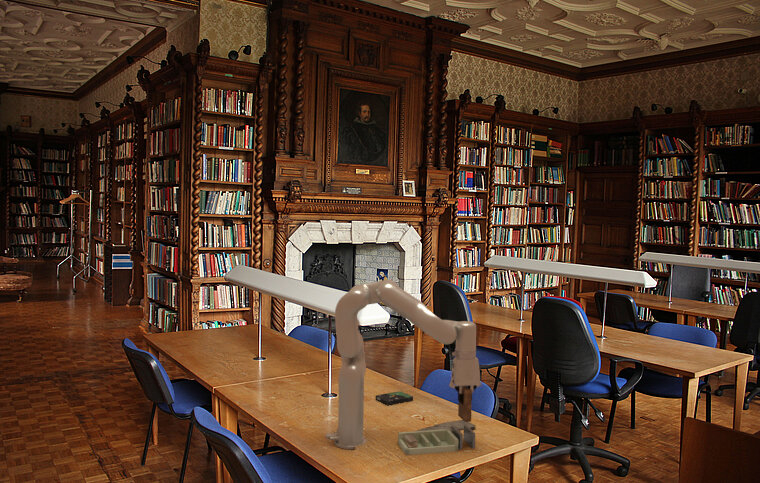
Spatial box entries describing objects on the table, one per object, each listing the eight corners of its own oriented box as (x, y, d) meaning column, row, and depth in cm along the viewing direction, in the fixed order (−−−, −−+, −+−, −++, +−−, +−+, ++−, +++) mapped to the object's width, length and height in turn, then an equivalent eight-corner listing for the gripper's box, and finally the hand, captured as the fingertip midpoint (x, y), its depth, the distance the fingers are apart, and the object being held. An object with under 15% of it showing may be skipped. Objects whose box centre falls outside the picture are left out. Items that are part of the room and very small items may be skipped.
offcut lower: (409, 452, 218) (409, 446, 218) (403, 445, 225) (404, 439, 225) (417, 451, 219) (417, 446, 219) (412, 444, 226) (412, 438, 226)
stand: (459, 452, 222) (460, 434, 222) (451, 443, 231) (451, 425, 230) (474, 451, 223) (475, 433, 223) (465, 442, 232) (466, 424, 232)
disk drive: (387, 407, 273) (413, 401, 281) (387, 401, 273) (413, 396, 281) (375, 401, 282) (400, 395, 290) (375, 395, 282) (400, 390, 290)
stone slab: (404, 430, 239) (462, 415, 255) (404, 438, 239) (462, 422, 255) (420, 439, 230) (478, 422, 246) (420, 447, 230) (478, 430, 247)
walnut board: (465, 422, 223) (465, 390, 222) (458, 415, 230) (458, 384, 229) (471, 421, 223) (471, 389, 223) (464, 415, 230) (464, 384, 230)
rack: (405, 458, 216) (406, 443, 216) (397, 446, 227) (398, 432, 226) (458, 454, 221) (458, 439, 221) (447, 442, 232) (448, 429, 231)
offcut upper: (410, 446, 219) (410, 441, 219) (404, 440, 224) (404, 435, 224) (417, 445, 220) (417, 440, 220) (411, 439, 225) (411, 434, 225)
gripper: (449, 358, 220) (448, 407, 221) (489, 355, 223) (488, 404, 224) (442, 353, 227) (441, 401, 228) (481, 351, 231) (480, 398, 232)
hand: (464, 402), depth 226 cm, fingers closed on walnut board, 2 cm apart
